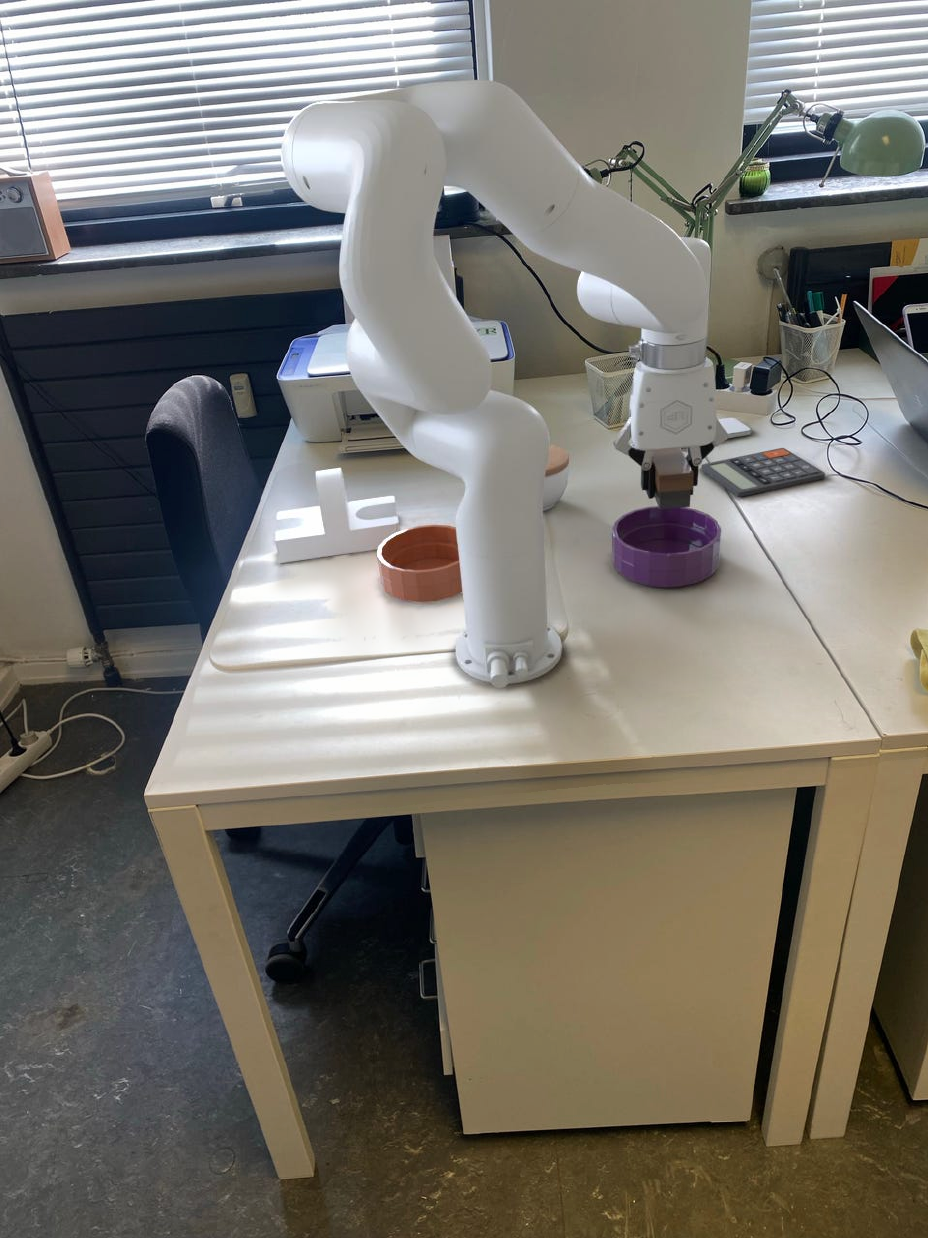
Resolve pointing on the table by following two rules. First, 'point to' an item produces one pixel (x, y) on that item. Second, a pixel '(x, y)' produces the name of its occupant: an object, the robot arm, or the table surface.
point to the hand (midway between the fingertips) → (668, 491)
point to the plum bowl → (666, 546)
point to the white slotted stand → (334, 523)
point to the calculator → (762, 472)
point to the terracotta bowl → (421, 563)
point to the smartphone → (734, 427)
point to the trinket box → (555, 476)
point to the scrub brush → (672, 479)
